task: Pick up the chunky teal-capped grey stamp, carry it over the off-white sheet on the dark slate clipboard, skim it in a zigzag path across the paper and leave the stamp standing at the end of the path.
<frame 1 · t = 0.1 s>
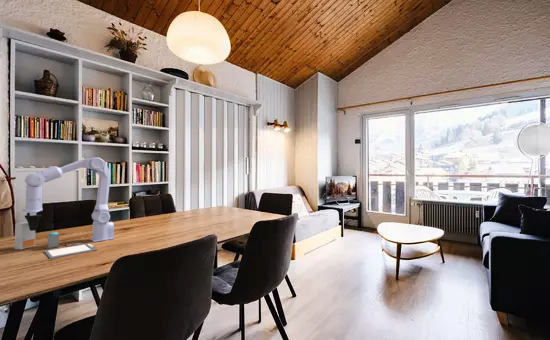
hand: (33, 228, 124), 10 cm above the table, fingers open, 7 cm apart
word placard: (74, 244, 133), on the table
skincare box: (25, 247, 128), on the table
clipboard: (70, 251, 124), on the table
teal-capped grey stamp: (53, 247, 128), on the table
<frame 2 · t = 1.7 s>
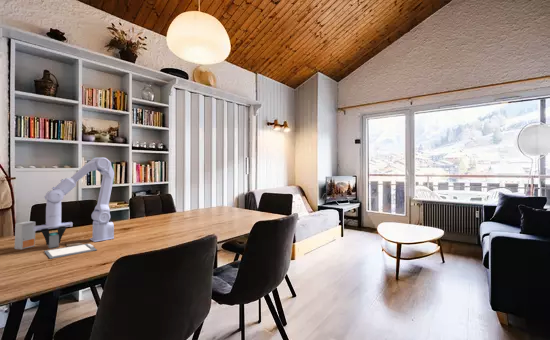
hand: (53, 243, 128), 2 cm above the table, fingers closed on teal-capped grey stamp, 4 cm apart
teal-capped grey stamp: (53, 247, 128), on the table, touching gripper
everything else where it was.
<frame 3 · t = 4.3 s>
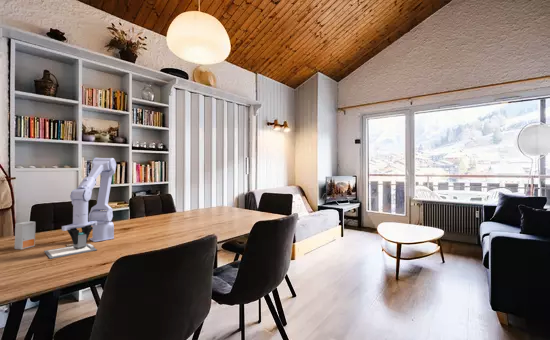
hand: (80, 243, 126), 3 cm above the table, fingers closed on teal-capped grey stamp, 4 cm apart
teal-capped grey stamp: (79, 247, 126), point 1 cm above the table, touching gripper
everything else where it was.
when the fingers open (3 cm above the table, at t = 7.2 s): teal-capped grey stamp stays where it is, resting on clipboard.
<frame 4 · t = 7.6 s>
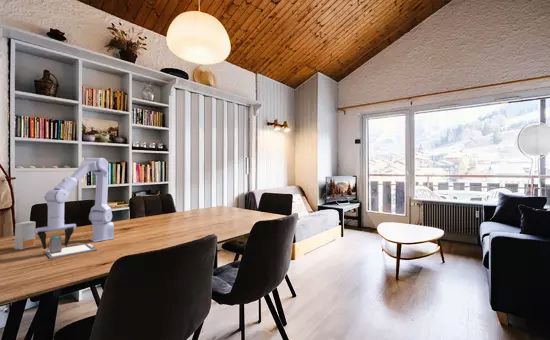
hand: (55, 246, 120), 3 cm above the table, fingers open, 7 cm apart
teal-capped grey stamp: (55, 252, 120), point 1 cm above the table, touching clipboard
everything else where it was.
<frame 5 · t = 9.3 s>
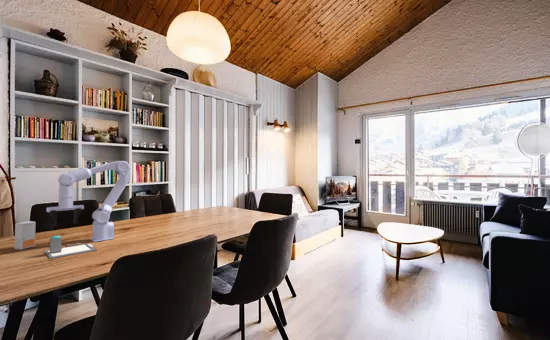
hand: (65, 224, 133), 10 cm above the table, fingers open, 7 cm apart
nothing on the table moved.
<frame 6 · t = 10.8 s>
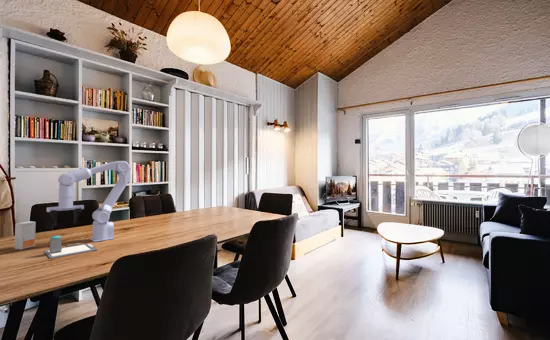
hand: (65, 224, 133), 10 cm above the table, fingers open, 7 cm apart
nothing on the table moved.
at the end: teal-capped grey stamp inside the target area (0.8 cm from its centre), point 0.5 cm above the table; teal-capped grey stamp tilted 0°; teal-capped grey stamp moved 11.4 cm from its start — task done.
